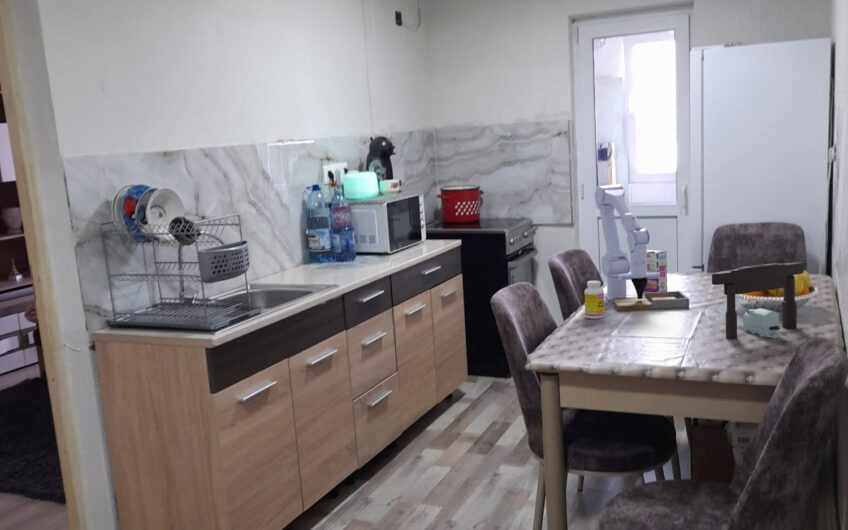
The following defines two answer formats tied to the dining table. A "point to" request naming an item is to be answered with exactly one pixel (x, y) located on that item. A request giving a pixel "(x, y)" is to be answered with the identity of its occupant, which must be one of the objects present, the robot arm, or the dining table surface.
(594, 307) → the supplement bottle
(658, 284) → the candy bar box
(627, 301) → the board
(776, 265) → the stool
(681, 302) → the tray
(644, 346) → the dining table surface
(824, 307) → the dining table surface
